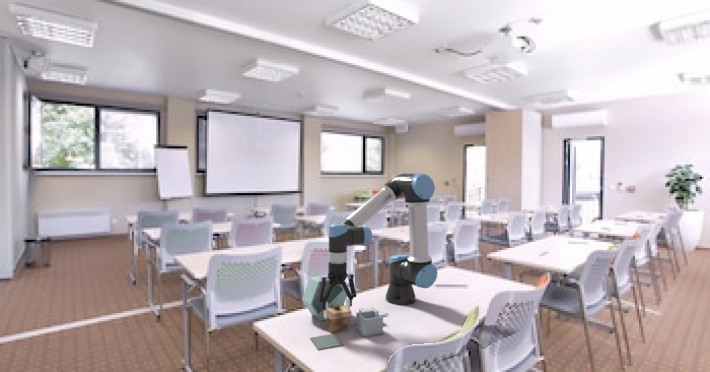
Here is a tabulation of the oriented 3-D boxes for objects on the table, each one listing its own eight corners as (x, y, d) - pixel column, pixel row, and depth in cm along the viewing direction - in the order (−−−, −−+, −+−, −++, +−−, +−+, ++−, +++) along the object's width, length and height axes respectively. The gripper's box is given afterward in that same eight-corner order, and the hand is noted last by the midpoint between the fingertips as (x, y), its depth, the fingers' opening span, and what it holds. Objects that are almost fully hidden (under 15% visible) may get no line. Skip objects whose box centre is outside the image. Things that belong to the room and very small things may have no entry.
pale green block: (373, 318, 163) (373, 307, 162) (378, 322, 158) (378, 310, 158) (358, 320, 159) (358, 309, 159) (364, 325, 155) (364, 313, 155)
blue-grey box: (373, 326, 153) (373, 310, 153) (382, 334, 146) (382, 316, 146) (356, 329, 150) (356, 312, 150) (364, 337, 143) (364, 319, 142)
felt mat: (334, 334, 145) (334, 333, 145) (343, 345, 136) (343, 344, 136) (309, 338, 141) (309, 337, 141) (317, 350, 132) (317, 349, 132)
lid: (343, 308, 156) (343, 301, 156) (351, 316, 148) (351, 308, 148) (323, 311, 153) (323, 303, 153) (330, 319, 145) (330, 311, 145)
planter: (326, 329, 161) (304, 295, 153) (317, 323, 167) (295, 290, 159) (352, 302, 169) (332, 268, 162) (343, 297, 175) (323, 264, 168)
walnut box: (341, 324, 155) (341, 310, 155) (347, 330, 149) (348, 315, 149) (325, 326, 152) (326, 312, 152) (331, 333, 146) (331, 318, 146)
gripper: (357, 257, 158) (357, 309, 158) (309, 261, 149) (308, 316, 150) (365, 261, 151) (364, 315, 152) (315, 265, 142) (314, 323, 143)
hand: (336, 315), depth 151 cm, fingers closed on lid, 9 cm apart
